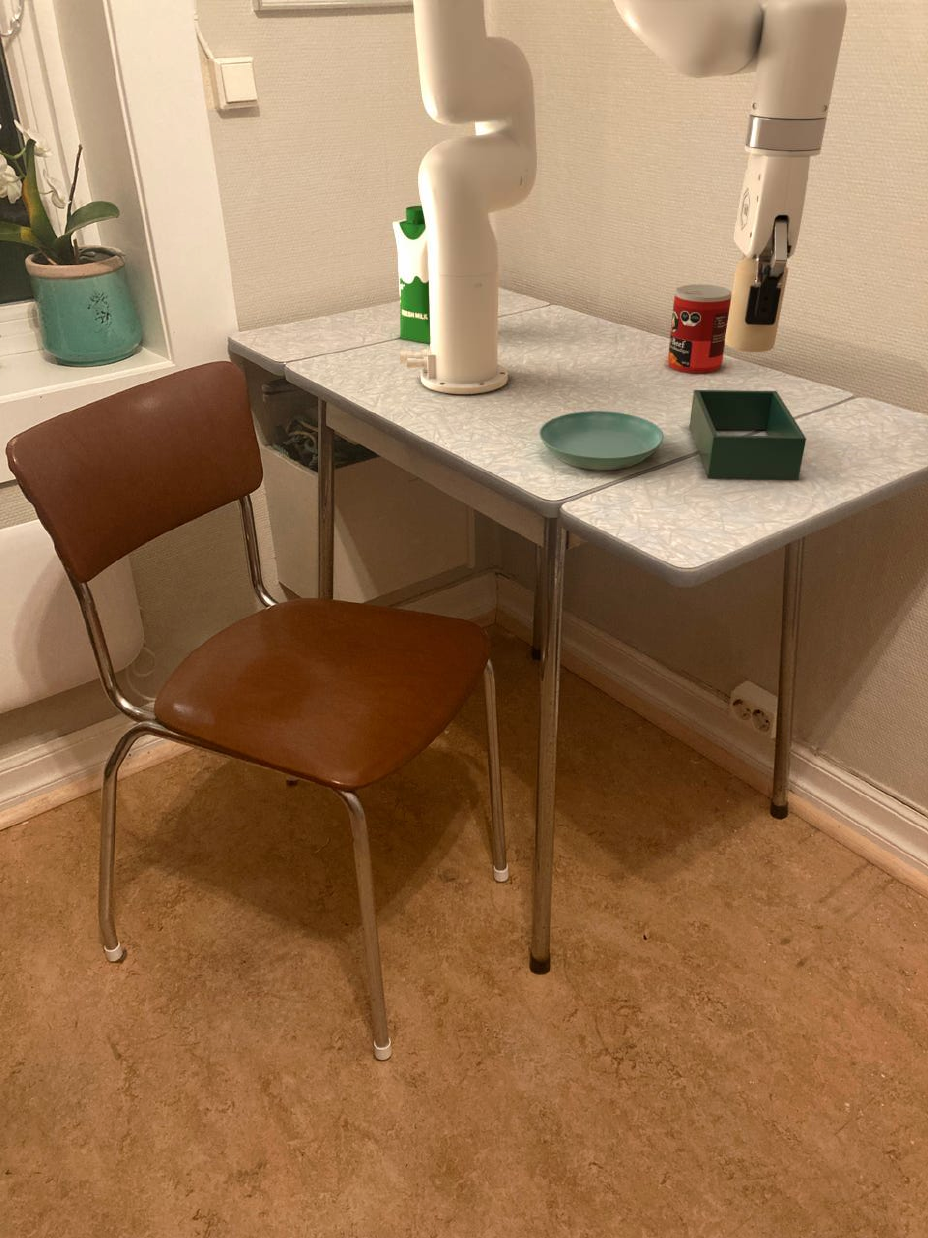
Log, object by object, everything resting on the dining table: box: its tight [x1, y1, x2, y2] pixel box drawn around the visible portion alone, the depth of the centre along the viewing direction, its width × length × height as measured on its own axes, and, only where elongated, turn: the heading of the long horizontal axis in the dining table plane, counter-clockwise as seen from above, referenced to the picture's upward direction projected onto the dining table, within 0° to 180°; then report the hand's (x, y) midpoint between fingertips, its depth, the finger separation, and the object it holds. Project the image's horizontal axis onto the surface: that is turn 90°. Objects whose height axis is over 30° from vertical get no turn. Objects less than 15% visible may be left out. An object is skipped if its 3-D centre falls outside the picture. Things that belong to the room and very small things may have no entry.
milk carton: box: [392, 205, 431, 345], centre depth 153 cm, size 9×9×20 cm
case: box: [688, 389, 807, 481], centre depth 115 cm, size 10×16×5 cm, turn 176°
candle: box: [725, 251, 789, 353], centre depth 107 cm, size 6×6×10 cm
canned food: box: [667, 283, 732, 374], centre depth 141 cm, size 8×8×11 cm
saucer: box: [538, 410, 664, 471], centre depth 115 cm, size 15×15×3 cm
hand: (754, 313), depth 107 cm, fingers closed on candle, 5 cm apart
